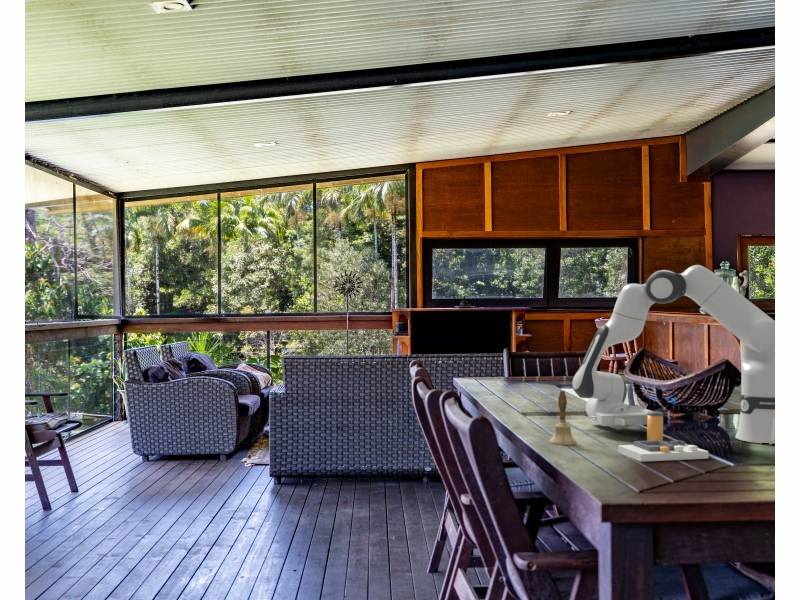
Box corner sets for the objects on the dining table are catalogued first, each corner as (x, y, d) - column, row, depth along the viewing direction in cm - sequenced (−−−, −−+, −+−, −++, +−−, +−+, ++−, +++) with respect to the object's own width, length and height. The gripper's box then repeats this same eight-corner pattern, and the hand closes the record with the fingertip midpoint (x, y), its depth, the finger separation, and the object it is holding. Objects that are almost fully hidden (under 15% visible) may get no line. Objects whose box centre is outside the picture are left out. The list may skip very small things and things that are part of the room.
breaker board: (682, 449, 206) (682, 438, 206) (708, 458, 194) (708, 447, 194) (617, 452, 201) (617, 441, 201) (640, 461, 190) (640, 449, 190)
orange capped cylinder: (657, 443, 214) (657, 411, 214) (665, 446, 210) (666, 413, 210) (644, 444, 213) (644, 411, 213) (652, 447, 209) (652, 413, 209)
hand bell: (557, 445, 210) (557, 393, 210) (544, 440, 218) (544, 389, 218) (581, 444, 212) (582, 392, 212) (568, 439, 220) (568, 388, 220)
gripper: (588, 407, 232) (609, 413, 218) (643, 405, 236) (667, 411, 223) (588, 425, 232) (609, 433, 218) (643, 423, 236) (667, 431, 223)
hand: (639, 422), depth 220 cm, fingers open, 8 cm apart
